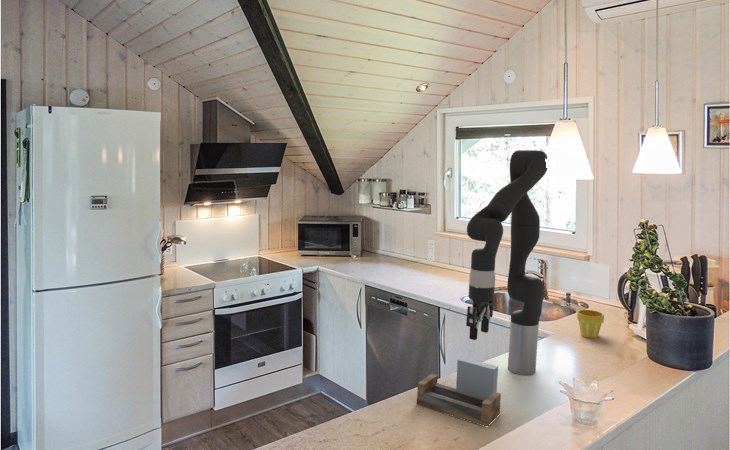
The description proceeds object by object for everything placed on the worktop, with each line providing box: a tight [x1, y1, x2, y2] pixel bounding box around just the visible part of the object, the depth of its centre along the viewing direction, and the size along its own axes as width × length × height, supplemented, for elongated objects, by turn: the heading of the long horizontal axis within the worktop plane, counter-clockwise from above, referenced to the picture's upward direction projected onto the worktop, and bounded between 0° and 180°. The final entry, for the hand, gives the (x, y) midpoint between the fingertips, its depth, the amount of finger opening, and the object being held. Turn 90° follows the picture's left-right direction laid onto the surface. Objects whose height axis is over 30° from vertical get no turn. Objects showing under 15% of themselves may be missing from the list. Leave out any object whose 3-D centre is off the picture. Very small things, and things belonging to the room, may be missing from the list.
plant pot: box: [576, 309, 605, 339], centre depth 217 cm, size 10×10×10 cm
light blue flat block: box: [455, 356, 499, 398], centre depth 161 cm, size 3×12×10 cm, turn 54°
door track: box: [416, 373, 502, 427], centre depth 150 cm, size 9×22×6 cm, turn 54°
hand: (479, 335), depth 159 cm, fingers open, 8 cm apart
